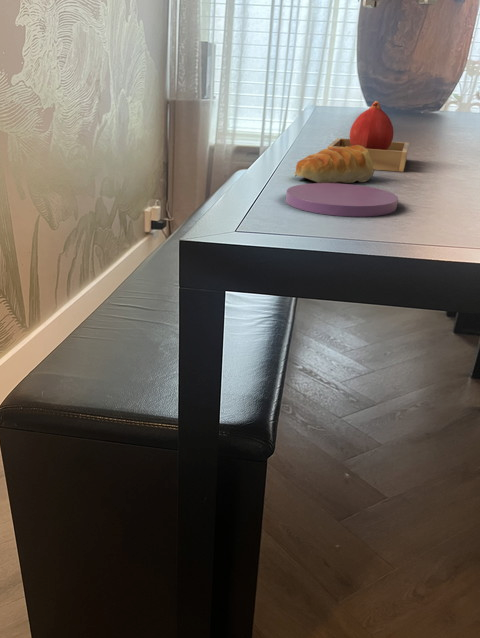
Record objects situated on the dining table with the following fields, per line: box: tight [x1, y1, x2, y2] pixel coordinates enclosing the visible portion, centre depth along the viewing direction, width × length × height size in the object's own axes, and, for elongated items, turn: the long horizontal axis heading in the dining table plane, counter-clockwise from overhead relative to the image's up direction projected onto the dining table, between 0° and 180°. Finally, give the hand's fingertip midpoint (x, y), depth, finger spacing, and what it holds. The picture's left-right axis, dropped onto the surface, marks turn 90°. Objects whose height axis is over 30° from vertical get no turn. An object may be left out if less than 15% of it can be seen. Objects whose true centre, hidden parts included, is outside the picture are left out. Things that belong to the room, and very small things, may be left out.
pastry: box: [294, 145, 375, 184], centre depth 72 cm, size 9×7×4 cm
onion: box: [349, 100, 394, 150], centre depth 83 cm, size 6×6×8 cm
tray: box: [327, 137, 410, 173], centre depth 84 cm, size 10×10×2 cm
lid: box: [285, 182, 399, 218], centre depth 61 cm, size 11×11×1 cm
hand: (397, 6), depth 79 cm, fingers open, 8 cm apart
